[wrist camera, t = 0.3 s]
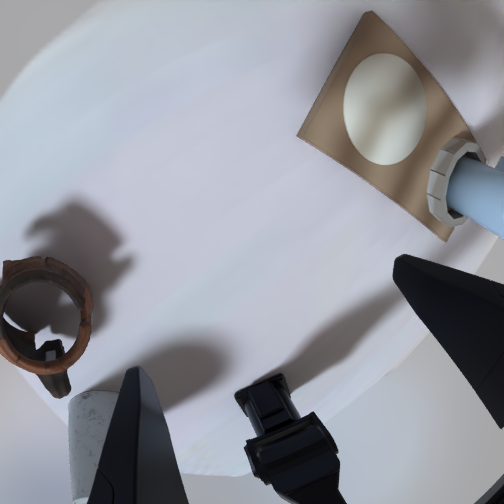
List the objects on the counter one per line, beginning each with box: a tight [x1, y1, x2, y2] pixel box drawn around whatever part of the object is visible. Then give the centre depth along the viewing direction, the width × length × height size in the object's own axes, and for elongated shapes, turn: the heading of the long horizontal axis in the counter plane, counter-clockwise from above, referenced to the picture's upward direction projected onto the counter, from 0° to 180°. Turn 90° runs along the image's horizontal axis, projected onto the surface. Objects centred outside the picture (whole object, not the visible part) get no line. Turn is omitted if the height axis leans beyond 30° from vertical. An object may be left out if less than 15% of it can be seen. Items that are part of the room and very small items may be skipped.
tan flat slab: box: [297, 11, 486, 242], centre depth 25 cm, size 26×13×3 cm, turn 61°
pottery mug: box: [0, 256, 93, 399], centre depth 19 cm, size 12×10×8 cm
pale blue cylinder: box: [446, 156, 504, 239], centre depth 24 cm, size 9×6×12 cm
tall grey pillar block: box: [68, 391, 119, 504], centre depth 24 cm, size 10×10×12 cm
